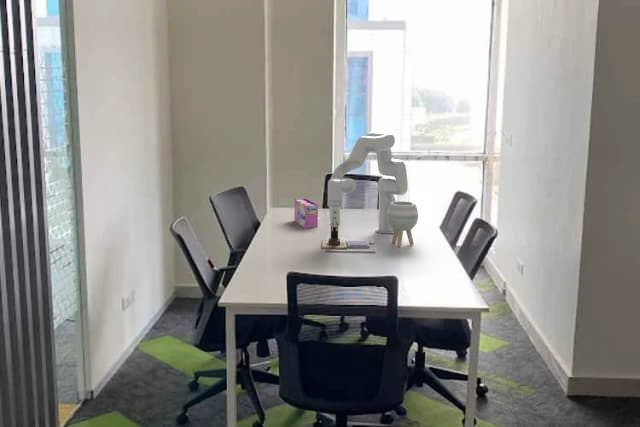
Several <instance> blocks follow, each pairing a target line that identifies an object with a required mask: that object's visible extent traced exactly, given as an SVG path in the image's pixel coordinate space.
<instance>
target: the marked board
mask: <svg viewBox="0 0 640 427" xmlns="http://www.w3.org/2000/svg"><path fill="white" fill-rule="evenodd" d="M328 241H329V239H328V240H326V239H325V240H321V249H322V250H348V244H347V240H340V245H329V243H328Z"/></svg>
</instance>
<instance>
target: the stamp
mask: <svg viewBox="0 0 640 427" xmlns="http://www.w3.org/2000/svg"><path fill="white" fill-rule="evenodd" d="M333 221H334V220H333ZM336 224H337V222H336ZM329 225H330V232H331V231H332V225H331V223H330V224H329ZM333 225H334V224H333ZM339 226H340V225H338V224H337V231H338V232H339ZM340 241H341V238H340V237H339V233H338V234H337V239H332V238H331V237H328V243H329V245H340Z"/></svg>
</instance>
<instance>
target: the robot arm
mask: <svg viewBox="0 0 640 427" xmlns="http://www.w3.org/2000/svg"><path fill="white" fill-rule="evenodd" d="M395 141H396V139H395V136H394V135H393V133H391V132H379V131H370V132H367V133H366V134H365V136H363V135H362V136H359V137H358V138H357V140H356V141H355V144H354V146H353V148H352V149H351V152H350V153H349V154H350V155H349V156H348V157H347V159H346V160H344V161H343V162H342V163H340V164H339V165H338V166H337V167H336V168H335V170H334V171H333V173H332V175H331V176H330V179H329V180H328V181H327V207H329V219H330V220H329V221H330V223H331V225H332V231H331V230H330V238H332V239H337V234H338V235H339V230H338V231H337V224H338V225H339V226H341V207H342V206H343V194H344V193H352V192H353V191H354V190H355V189H356V187H357V185H356V181H355V180H354V179H352V178H350V177H344V176H345V175H346V174H348V173H349V172H352V171H354V170H357V169H360V168H362V167H363V165H364V163H365V161H366V159H367V157H368V155H369V153H372V154H376V161H377V162H376V163H377V169H378V172H379V174H380V175H382V177H380V178H379V179H378V180H377V191H378V227H377V228H375V232H376V233H379V234H387V235H389V234H394V229H393V228H392V227H391V226H390V225H389V223H388V221H387V212H388V208H389V206H390V204H391V203H392V202H396V197H395V195H397V196H404V195H406V193H407V192H408V189H409V186H408V175H407V167H406V164H405V162H404V161H403V160H401V159H394V158H393V154H392V148H393V146H394V145H395ZM333 220H334V221H333ZM336 222H337V224H336ZM333 224H334V225H333Z"/></svg>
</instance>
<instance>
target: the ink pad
mask: <svg viewBox="0 0 640 427" xmlns="http://www.w3.org/2000/svg"><path fill="white" fill-rule="evenodd" d="M346 242H347V249H370V243H369V241H367V240H346Z"/></svg>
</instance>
